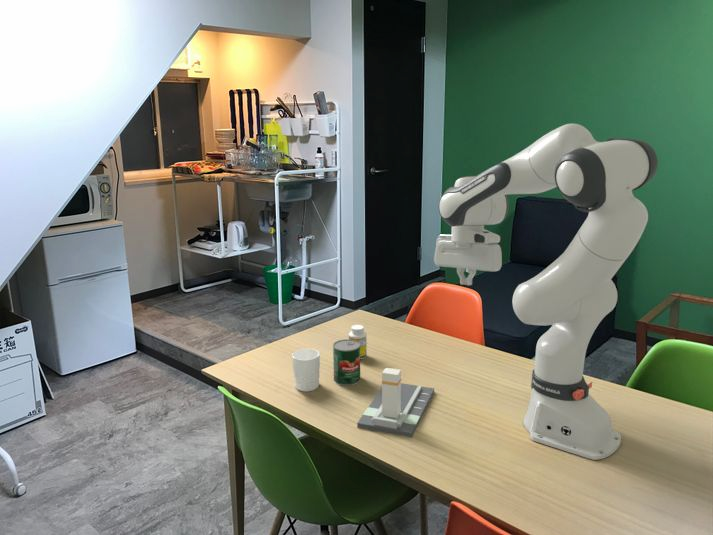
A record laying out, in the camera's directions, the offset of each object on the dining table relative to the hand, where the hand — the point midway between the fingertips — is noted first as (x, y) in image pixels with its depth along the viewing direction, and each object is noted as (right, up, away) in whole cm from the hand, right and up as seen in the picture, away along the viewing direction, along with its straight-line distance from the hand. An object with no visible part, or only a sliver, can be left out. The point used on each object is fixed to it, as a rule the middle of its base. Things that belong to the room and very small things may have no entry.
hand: (465, 284), depth 162 cm
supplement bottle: (-30, -24, +22) cm, 45 cm away
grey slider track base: (-20, -33, -9) cm, 39 cm away
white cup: (-45, -30, +4) cm, 54 cm away
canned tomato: (-33, -28, +7) cm, 44 cm away
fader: (-22, -33, -15) cm, 42 cm away
